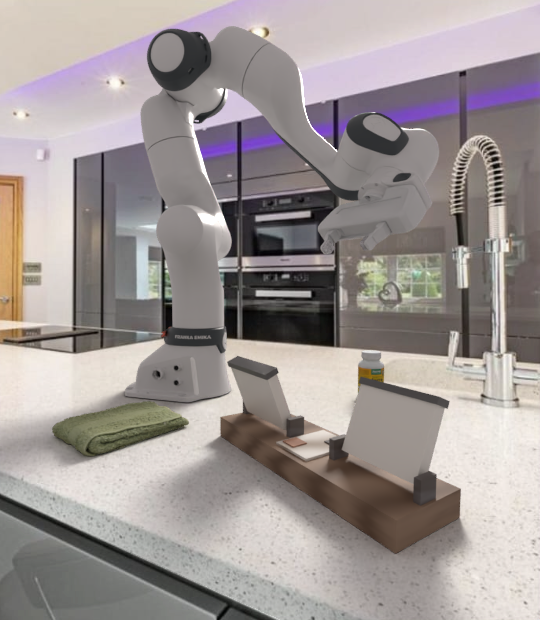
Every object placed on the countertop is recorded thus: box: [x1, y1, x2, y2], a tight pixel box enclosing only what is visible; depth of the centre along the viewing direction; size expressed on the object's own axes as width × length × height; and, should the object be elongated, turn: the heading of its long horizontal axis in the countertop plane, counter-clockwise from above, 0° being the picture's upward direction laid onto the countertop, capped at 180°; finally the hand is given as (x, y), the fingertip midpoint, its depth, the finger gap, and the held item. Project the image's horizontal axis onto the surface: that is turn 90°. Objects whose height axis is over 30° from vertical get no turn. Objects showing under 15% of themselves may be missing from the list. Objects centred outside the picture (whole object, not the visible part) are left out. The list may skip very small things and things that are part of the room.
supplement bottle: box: [357, 349, 385, 393], centre depth 85 cm, size 5×5×10 cm
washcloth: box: [51, 400, 190, 457], centre depth 64 cm, size 13×18×3 cm
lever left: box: [226, 355, 292, 430], centre depth 58 cm, size 10×2×9 cm, turn 34°
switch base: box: [219, 400, 462, 554], centre depth 52 cm, size 33×10×5 cm, turn 34°
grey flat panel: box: [342, 377, 450, 484], centre depth 44 cm, size 10×2×9 cm, turn 34°
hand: (343, 249), depth 68 cm, fingers open, 8 cm apart
